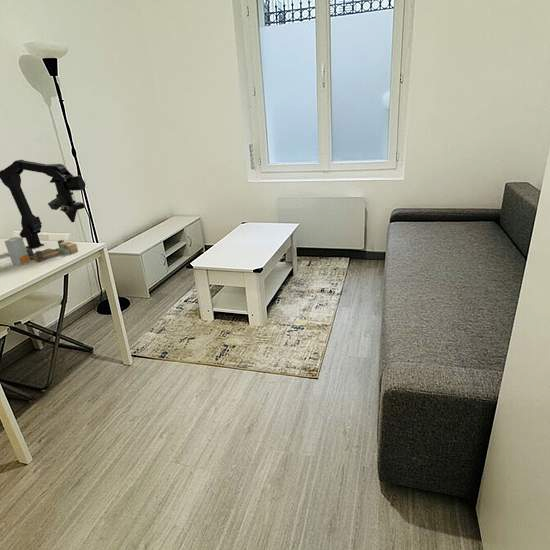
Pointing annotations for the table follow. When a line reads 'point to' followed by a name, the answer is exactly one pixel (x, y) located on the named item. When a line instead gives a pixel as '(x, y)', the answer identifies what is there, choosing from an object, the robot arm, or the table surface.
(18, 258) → the skincare box
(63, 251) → the socket cleat
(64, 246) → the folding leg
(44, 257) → the stool seat
